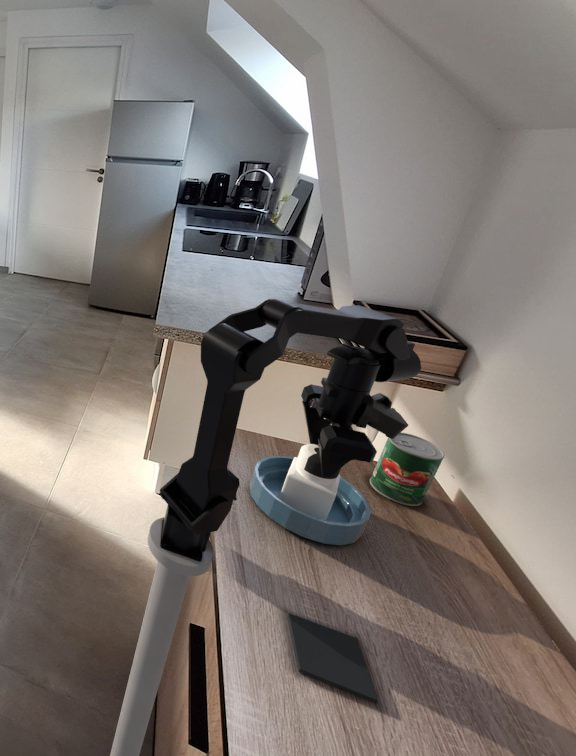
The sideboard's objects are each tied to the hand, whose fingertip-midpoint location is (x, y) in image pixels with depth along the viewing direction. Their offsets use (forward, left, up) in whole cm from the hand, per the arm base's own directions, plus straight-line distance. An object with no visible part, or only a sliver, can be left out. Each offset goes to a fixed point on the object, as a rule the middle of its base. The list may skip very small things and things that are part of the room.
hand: (319, 459), depth 80 cm
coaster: (-2, -29, -11) cm, 31 cm away
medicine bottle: (0, 0, -11) cm, 11 cm away
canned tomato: (+18, +14, -11) cm, 26 cm away
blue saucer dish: (0, 0, -11) cm, 11 cm away
